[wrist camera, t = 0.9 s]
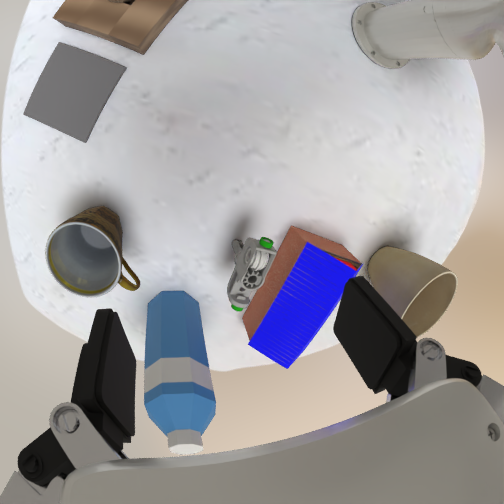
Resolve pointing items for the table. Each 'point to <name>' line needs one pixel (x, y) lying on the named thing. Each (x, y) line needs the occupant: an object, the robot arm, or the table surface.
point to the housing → (120, 20)
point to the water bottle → (177, 371)
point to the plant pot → (412, 286)
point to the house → (298, 295)
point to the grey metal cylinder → (123, 1)
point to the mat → (73, 90)
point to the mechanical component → (249, 269)
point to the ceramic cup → (89, 254)
